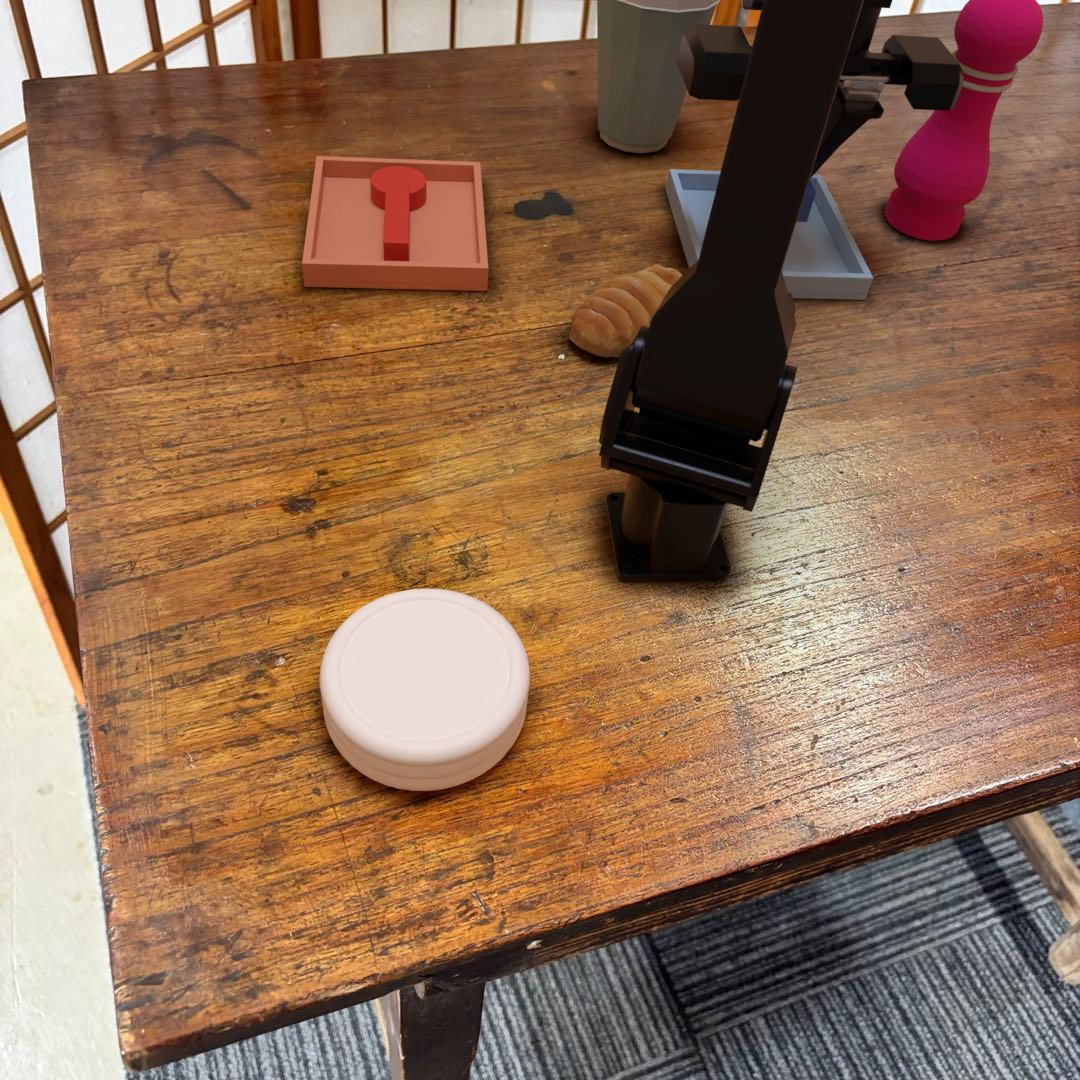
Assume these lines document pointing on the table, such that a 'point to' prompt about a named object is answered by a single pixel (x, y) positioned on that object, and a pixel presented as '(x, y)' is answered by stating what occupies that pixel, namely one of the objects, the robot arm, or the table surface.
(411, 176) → the red spoon
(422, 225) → the red tray
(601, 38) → the disposable coffee cup
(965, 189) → the pepper mill
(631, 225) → the table surface
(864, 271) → the blue tray
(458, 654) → the white round tin
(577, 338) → the pastry
